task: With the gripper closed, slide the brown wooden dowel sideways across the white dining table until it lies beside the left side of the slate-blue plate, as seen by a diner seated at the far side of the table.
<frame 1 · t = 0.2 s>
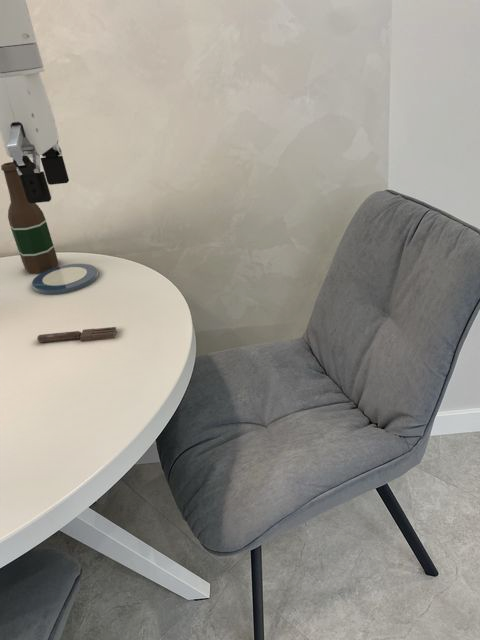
hand: (50, 192, 81), 27 cm above the table, tool pointing down, fingers open, 9 cm apart
beer bottle: (42, 268, 129), on the table
brown wooden dowel: (77, 338, 98), on the table
plate: (66, 280, 121), on the table
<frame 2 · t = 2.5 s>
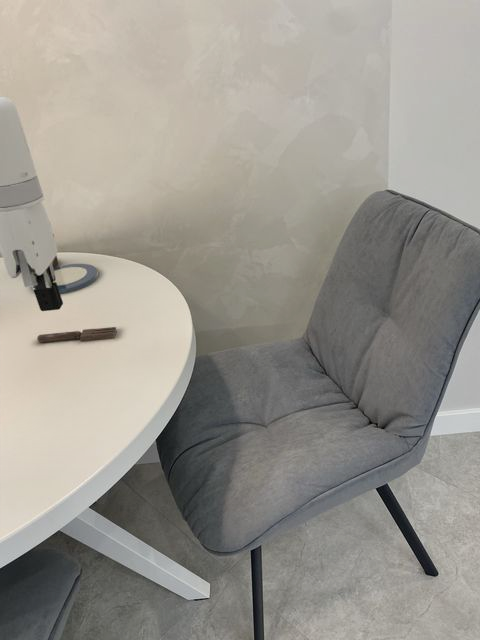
hand: (52, 307, 87), 10 cm above the table, tool pointing down, fingers closed
nothing on the table moved.
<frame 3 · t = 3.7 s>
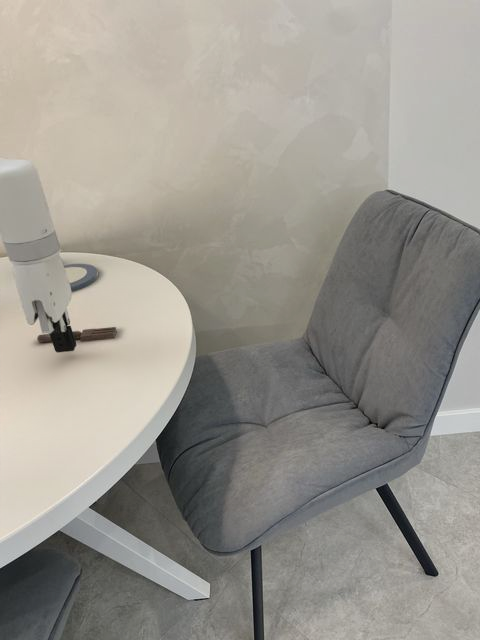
hand: (66, 349, 92), 2 cm above the table, tool pointing down, fingers closed
nothing on the table moved.
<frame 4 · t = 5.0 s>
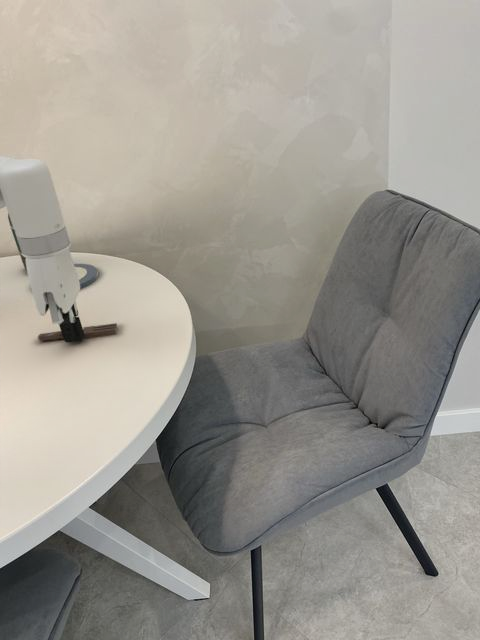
hand: (74, 339, 97), 1 cm above the table, tool pointing down, fingers closed
brown wooden dowel: (78, 336, 99), on the table, touching gripper
everything else where it was.
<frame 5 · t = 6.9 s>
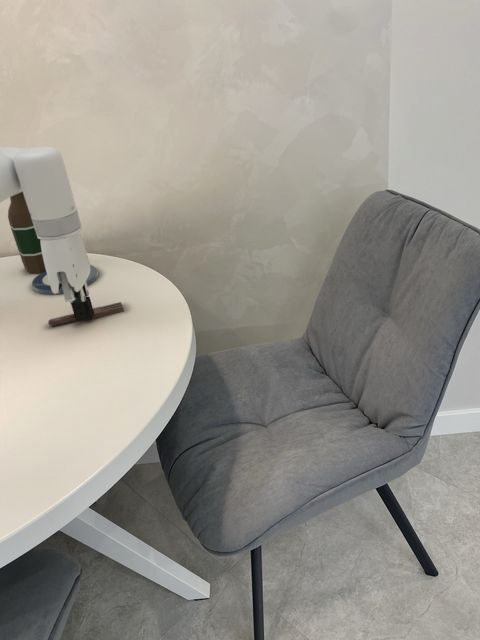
hand: (85, 318, 103), 1 cm above the table, tool pointing down, fingers closed
brown wooden dowel: (86, 317, 105), on the table, touching gripper
everything else where it was.
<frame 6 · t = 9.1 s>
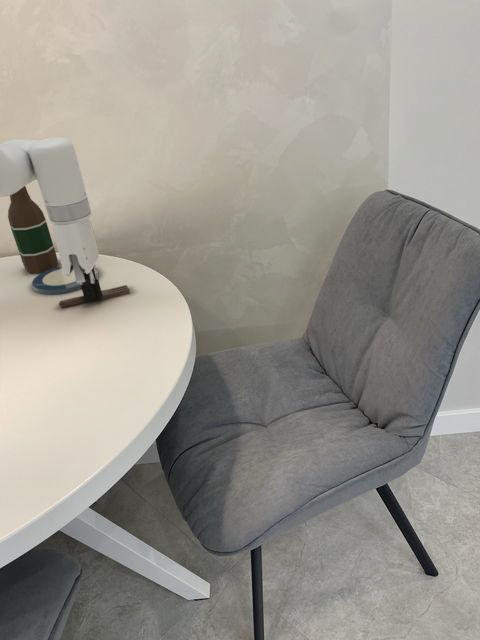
hand: (94, 299, 110), 1 cm above the table, tool pointing down, fingers closed
brown wooden dowel: (94, 299, 112), on the table, touching gripper
everything else where it was.
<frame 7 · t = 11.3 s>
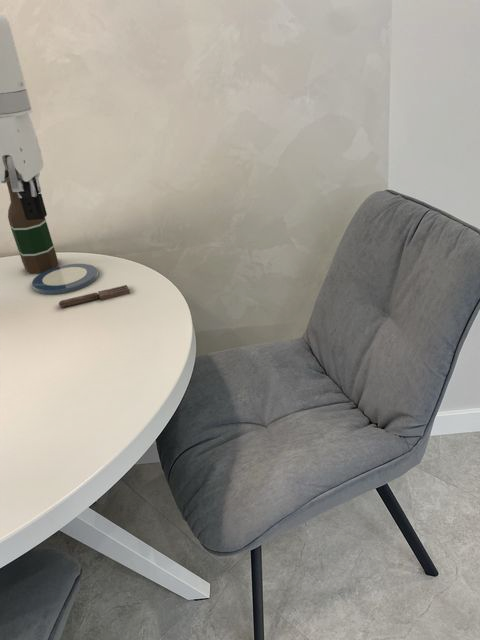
hand: (36, 217, 96), 20 cm above the table, tool pointing down, fingers closed
brown wooden dowel: (94, 299, 112), on the table
everything else where it was.
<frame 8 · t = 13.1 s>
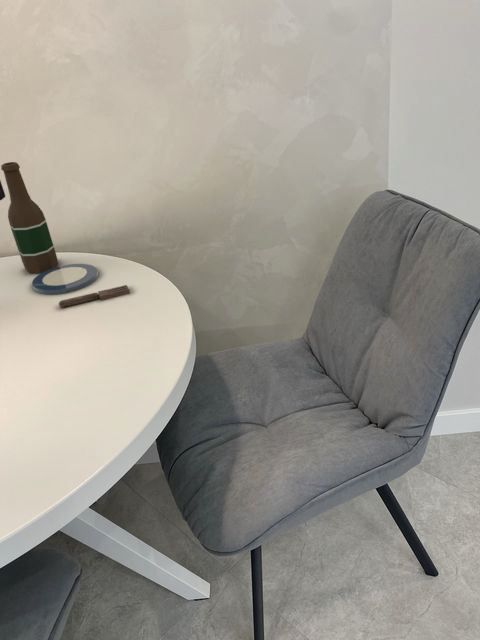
nothing on the table moved.
at the end: brown wooden dowel inside the target area on the table beside the plate (2.3 cm from its centre), on the table; brown wooden dowel moved 15.7 cm from its start; brown wooden dowel tilted 0° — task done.
